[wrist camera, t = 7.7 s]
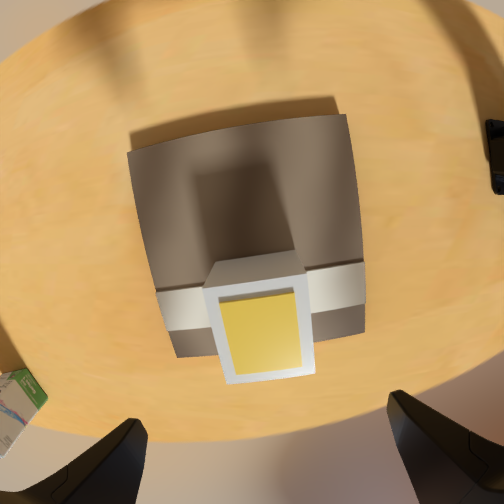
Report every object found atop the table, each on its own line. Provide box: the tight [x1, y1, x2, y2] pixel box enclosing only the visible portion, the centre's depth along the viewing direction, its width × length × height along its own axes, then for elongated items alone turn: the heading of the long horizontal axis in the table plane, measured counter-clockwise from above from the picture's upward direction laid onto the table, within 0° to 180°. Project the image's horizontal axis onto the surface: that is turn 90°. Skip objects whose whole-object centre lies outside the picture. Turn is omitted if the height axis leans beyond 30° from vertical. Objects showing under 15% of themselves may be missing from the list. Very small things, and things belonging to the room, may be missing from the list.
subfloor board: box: [127, 114, 366, 358], centre depth 18 cm, size 14×15×1 cm
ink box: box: [0, 368, 48, 458], centre depth 19 cm, size 8×5×12 cm, turn 112°
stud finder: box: [202, 250, 315, 384], centre depth 16 cm, size 5×6×5 cm
